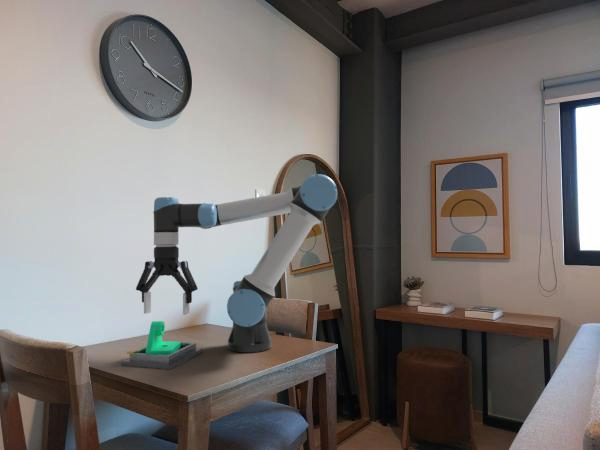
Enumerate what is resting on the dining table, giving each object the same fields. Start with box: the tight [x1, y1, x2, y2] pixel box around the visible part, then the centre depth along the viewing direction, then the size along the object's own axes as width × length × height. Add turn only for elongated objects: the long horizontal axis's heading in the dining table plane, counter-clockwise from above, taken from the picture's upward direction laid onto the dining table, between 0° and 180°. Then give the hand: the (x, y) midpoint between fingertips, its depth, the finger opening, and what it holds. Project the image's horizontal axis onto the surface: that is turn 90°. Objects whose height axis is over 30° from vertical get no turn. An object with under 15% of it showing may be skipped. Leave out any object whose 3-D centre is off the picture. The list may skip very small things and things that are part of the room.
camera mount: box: [145, 320, 182, 355], centre depth 135 cm, size 12×8×10 cm, turn 2°
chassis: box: [121, 340, 203, 370], centre depth 135 cm, size 16×20×4 cm
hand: (166, 313), depth 135 cm, fingers open, 13 cm apart
